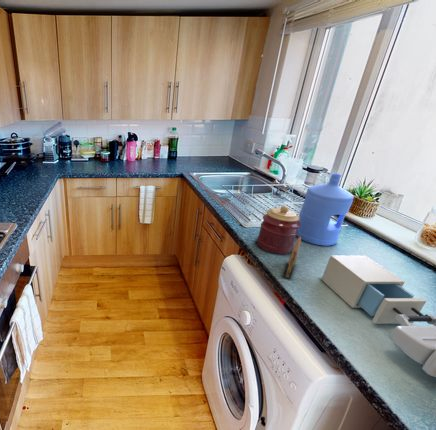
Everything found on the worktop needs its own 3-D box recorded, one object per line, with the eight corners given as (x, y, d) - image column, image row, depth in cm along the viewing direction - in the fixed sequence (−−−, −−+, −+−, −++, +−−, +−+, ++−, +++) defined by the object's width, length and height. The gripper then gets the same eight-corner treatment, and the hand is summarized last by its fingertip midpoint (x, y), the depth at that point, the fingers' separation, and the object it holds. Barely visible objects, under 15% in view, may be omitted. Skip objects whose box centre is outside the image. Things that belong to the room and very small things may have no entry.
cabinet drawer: (429, 336, 74) (444, 313, 71) (390, 336, 74) (403, 313, 70) (373, 293, 89) (384, 272, 86) (341, 293, 89) (350, 272, 86)
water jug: (291, 239, 122) (312, 175, 110) (295, 225, 134) (314, 167, 122) (336, 250, 114) (363, 183, 102) (336, 235, 126) (360, 173, 114)
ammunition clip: (288, 263, 105) (297, 234, 100) (294, 264, 104) (303, 236, 99) (283, 277, 97) (293, 246, 92) (289, 279, 96) (300, 248, 91)
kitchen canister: (298, 248, 115) (311, 208, 107) (281, 258, 108) (294, 216, 100) (266, 235, 124) (277, 197, 117) (249, 243, 118) (259, 204, 110)
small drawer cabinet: (390, 307, 85) (405, 281, 81) (352, 307, 84) (365, 281, 80) (354, 279, 97) (365, 255, 93) (321, 279, 97) (330, 255, 93)
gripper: (531, 355, 60) (458, 307, 72) (436, 355, 59) (379, 306, 71) (511, 375, 62) (445, 325, 75) (420, 375, 62) (369, 324, 74)
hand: (412, 316), depth 73 cm, fingers closed on cabinet drawer, 6 cm apart
